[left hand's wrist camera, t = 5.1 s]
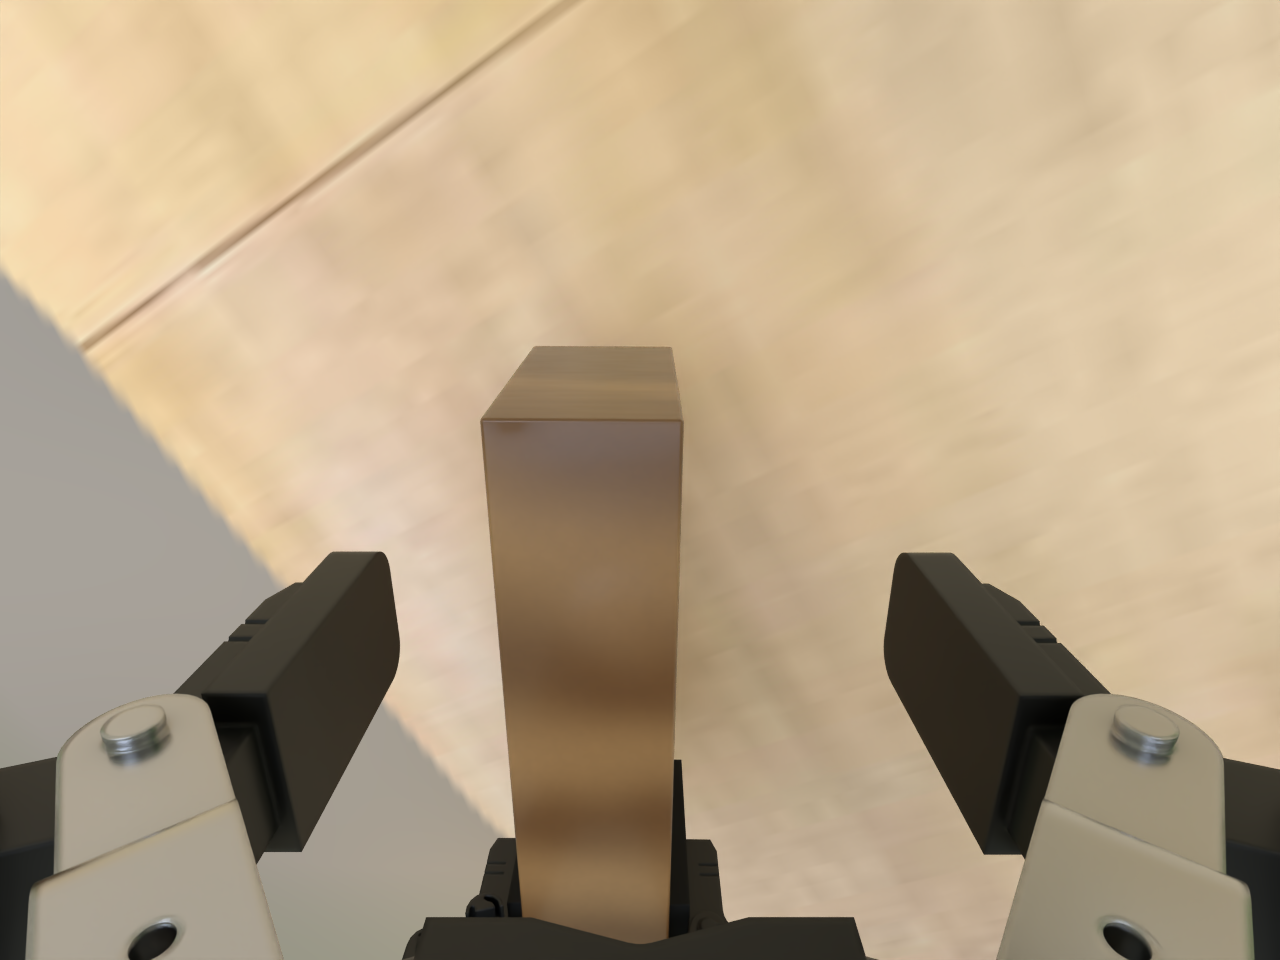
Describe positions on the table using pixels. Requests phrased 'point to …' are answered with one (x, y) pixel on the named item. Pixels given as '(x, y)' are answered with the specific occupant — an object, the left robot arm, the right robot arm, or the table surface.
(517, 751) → the bar
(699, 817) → the table surface
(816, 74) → the table surface
